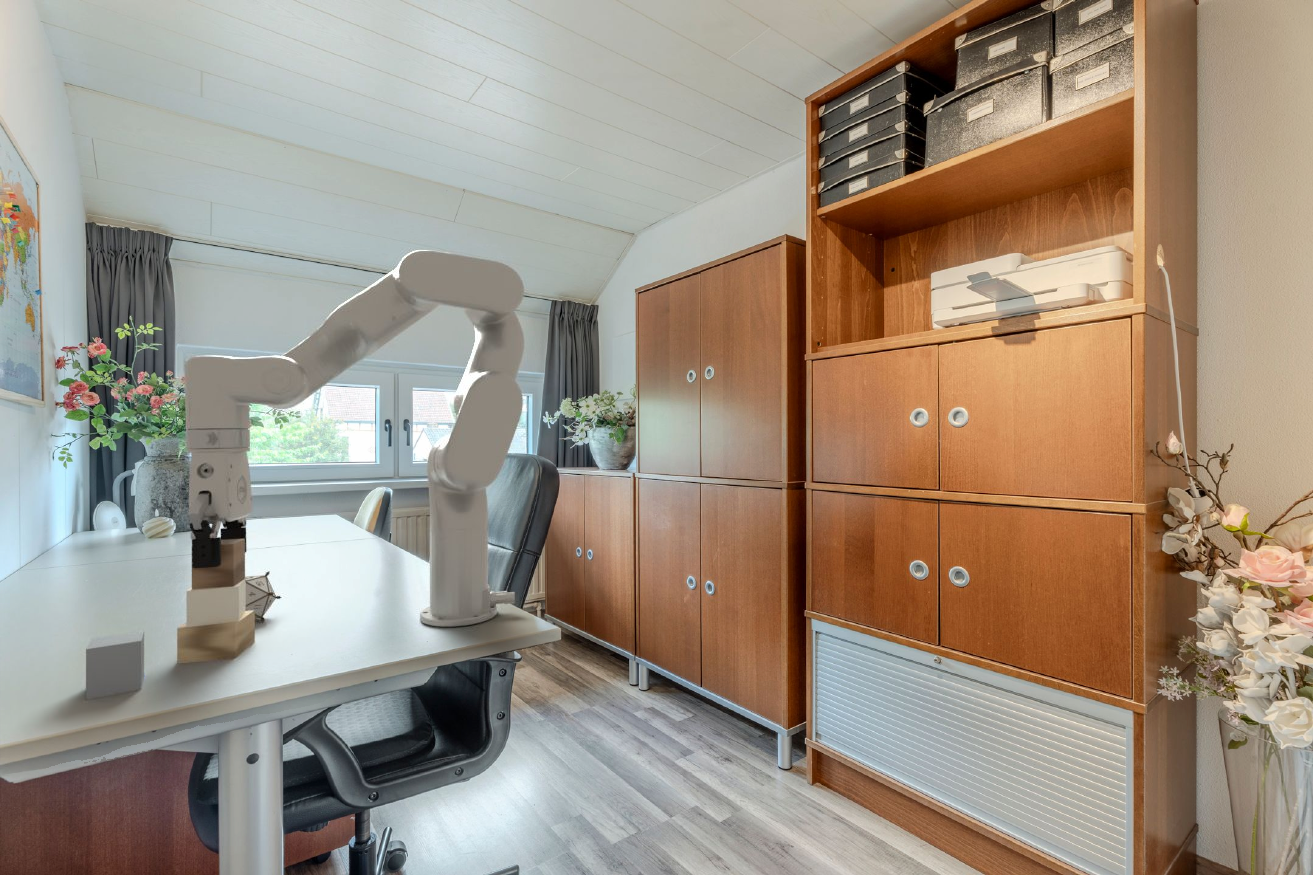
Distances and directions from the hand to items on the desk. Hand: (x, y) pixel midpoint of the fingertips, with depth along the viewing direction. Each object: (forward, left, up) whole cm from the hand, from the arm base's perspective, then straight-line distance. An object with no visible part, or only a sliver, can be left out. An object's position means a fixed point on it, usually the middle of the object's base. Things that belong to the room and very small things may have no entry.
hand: (221, 560), depth 88 cm
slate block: (+7, +11, -13) cm, 19 cm away
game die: (+1, -16, -13) cm, 21 cm away
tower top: (0, 0, -8) cm, 8 cm away
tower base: (0, 0, -13) cm, 13 cm away
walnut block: (0, 0, -3) cm, 3 cm away
